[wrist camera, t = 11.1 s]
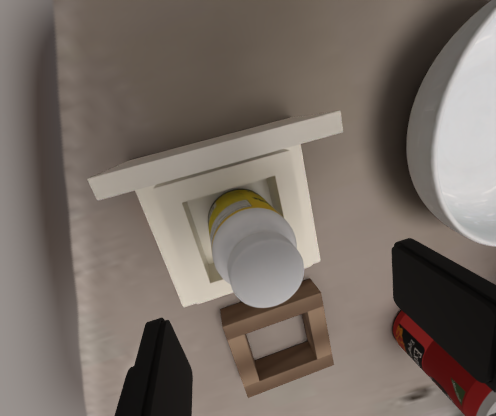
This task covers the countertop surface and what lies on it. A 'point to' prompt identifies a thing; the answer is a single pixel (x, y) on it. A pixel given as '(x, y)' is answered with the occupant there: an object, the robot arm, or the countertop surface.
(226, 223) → the supplement bottle
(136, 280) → the countertop surface
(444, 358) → the canned food
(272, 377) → the walnut socket block
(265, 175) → the cream rack
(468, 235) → the serving bowl
